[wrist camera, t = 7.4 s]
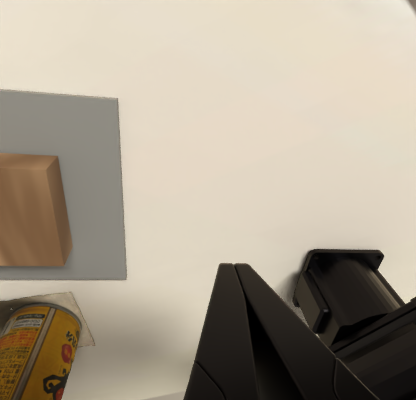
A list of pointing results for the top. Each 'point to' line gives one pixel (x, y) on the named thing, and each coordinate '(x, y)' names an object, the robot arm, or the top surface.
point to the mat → (74, 176)
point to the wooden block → (32, 212)
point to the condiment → (39, 345)
